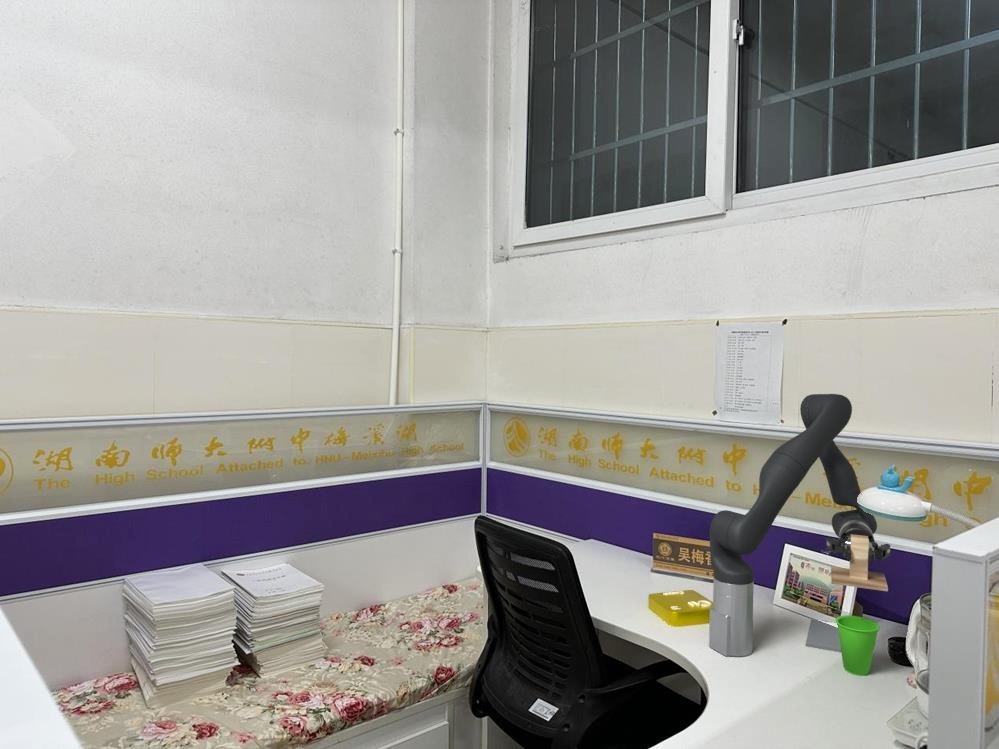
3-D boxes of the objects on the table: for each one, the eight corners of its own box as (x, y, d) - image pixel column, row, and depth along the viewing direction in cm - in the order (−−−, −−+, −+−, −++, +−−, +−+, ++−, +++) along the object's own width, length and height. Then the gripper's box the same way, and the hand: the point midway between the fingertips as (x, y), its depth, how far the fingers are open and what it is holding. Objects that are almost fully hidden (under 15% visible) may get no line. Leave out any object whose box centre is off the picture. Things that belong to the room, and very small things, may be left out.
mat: (865, 656, 167) (865, 654, 167) (805, 645, 173) (805, 643, 173) (865, 630, 183) (865, 627, 183) (811, 620, 189) (811, 618, 189)
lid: (887, 591, 152) (889, 546, 152) (831, 583, 156) (832, 539, 156) (883, 576, 162) (885, 534, 161) (831, 569, 166) (832, 528, 166)
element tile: (693, 603, 203) (693, 587, 202) (722, 623, 188) (722, 605, 188) (645, 608, 199) (645, 591, 199) (671, 629, 184) (672, 611, 184)
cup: (884, 681, 155) (886, 632, 154) (840, 677, 156) (841, 628, 156) (871, 663, 163) (872, 617, 163) (829, 660, 165) (830, 613, 165)
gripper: (825, 519, 175) (825, 536, 159) (890, 526, 169) (896, 544, 153) (824, 549, 175) (824, 569, 159) (888, 557, 169) (895, 578, 153)
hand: (859, 556), depth 156 cm, fingers closed on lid, 3 cm apart
